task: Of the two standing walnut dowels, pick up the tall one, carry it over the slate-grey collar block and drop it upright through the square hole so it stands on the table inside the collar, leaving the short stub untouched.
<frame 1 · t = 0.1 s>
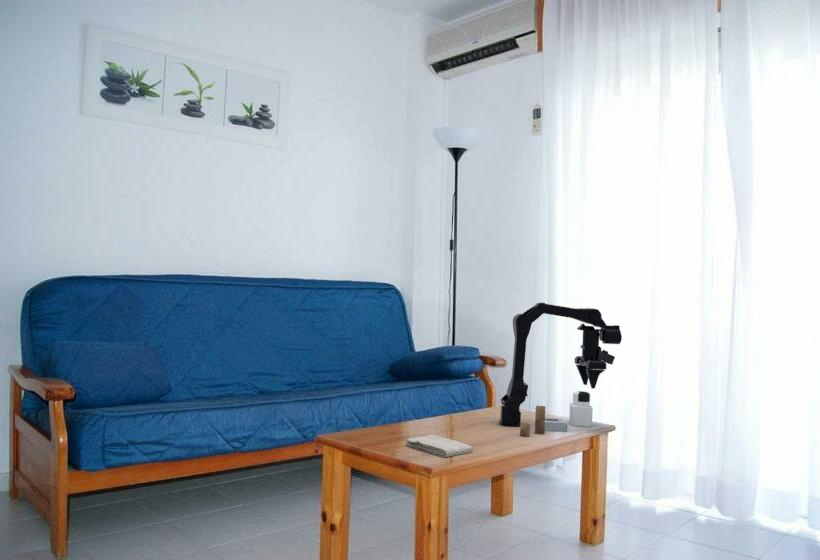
hand: (589, 386, 232), 15 cm above the table, fingers open, 9 cm apart
collar block: (551, 428, 227), on the table
long dowel: (539, 433, 218), on the table
washcloth: (438, 451, 190), on the table
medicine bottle: (580, 425, 236), on the table
short stub: (524, 435, 213), on the table
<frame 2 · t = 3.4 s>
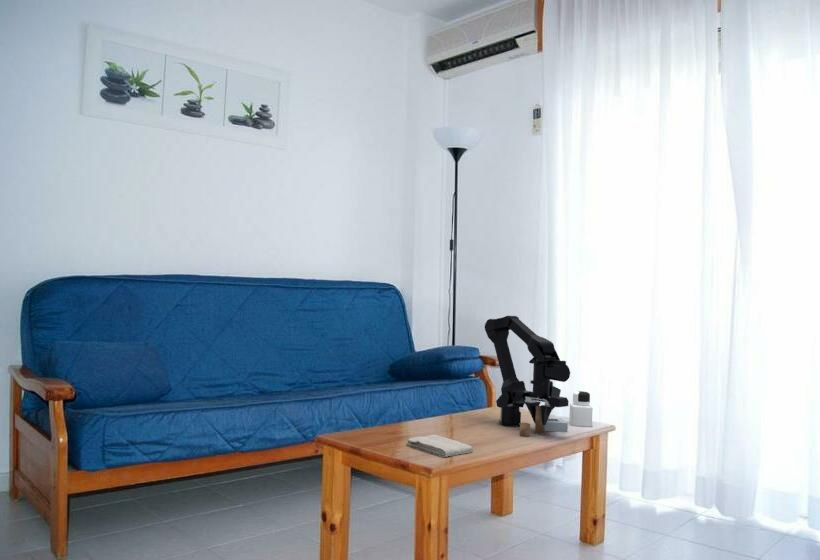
hand: (540, 424, 218), 3 cm above the table, fingers closed on long dowel, 3 cm apart
long dowel: (539, 433, 218), on the table, touching gripper
everything else where it was.
when the fingers open (4 cm above the table, at t = 7.6 s): long dowel drops 1 cm, resting in collar block.
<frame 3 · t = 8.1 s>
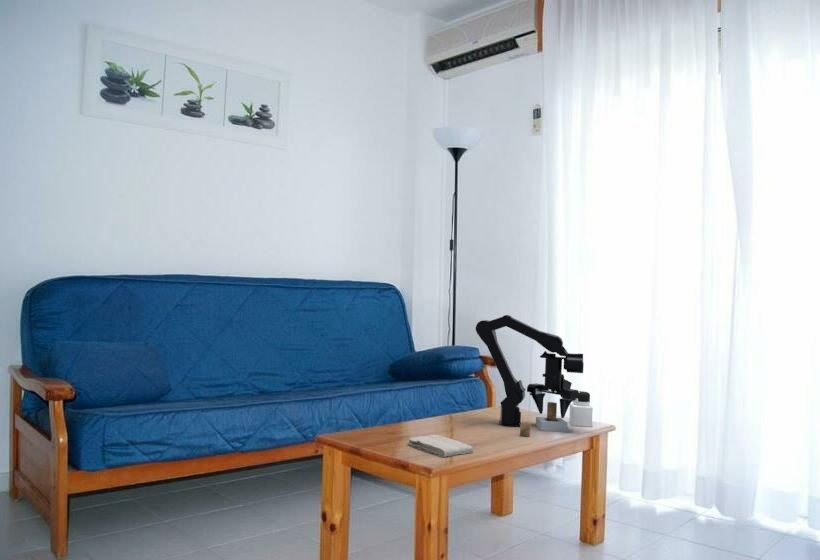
hand: (551, 415, 227), 4 cm above the table, fingers open, 9 cm apart
long dowel: (551, 428, 227), resting in collar block
everything else where it was.
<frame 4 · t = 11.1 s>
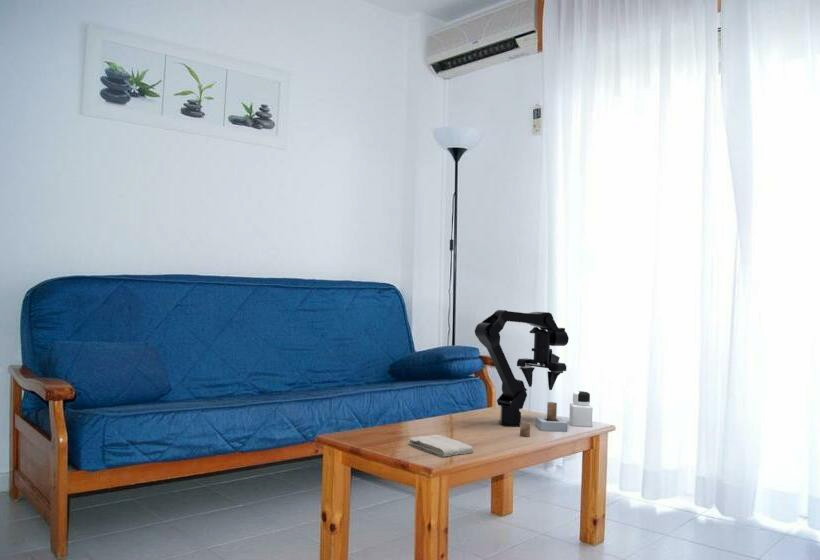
hand: (540, 388, 237), 12 cm above the table, fingers open, 9 cm apart
nothing on the table moved.
at the end: long dowel 0.0 cm off-centre on the collar block, point 0.0 cm above the collar block's base; long dowel tilted 0°; short stub moved 0.1 cm from its start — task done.
